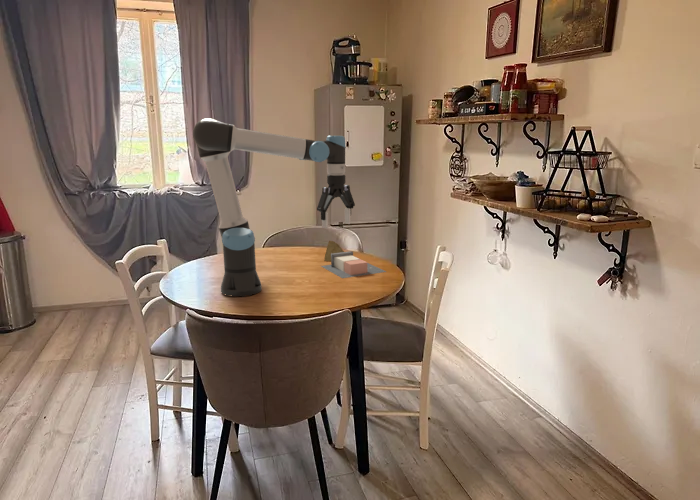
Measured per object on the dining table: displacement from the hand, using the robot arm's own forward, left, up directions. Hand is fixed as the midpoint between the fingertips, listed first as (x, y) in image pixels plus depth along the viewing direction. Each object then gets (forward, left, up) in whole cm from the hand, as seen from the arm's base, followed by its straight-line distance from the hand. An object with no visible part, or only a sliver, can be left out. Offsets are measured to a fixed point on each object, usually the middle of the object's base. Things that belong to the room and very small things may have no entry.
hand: (336, 225), depth 209 cm
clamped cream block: (+7, +5, -20) cm, 21 cm away
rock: (+9, +19, -21) cm, 30 cm away
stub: (+7, -5, -20) cm, 21 cm away
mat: (+8, +1, -21) cm, 22 cm away
